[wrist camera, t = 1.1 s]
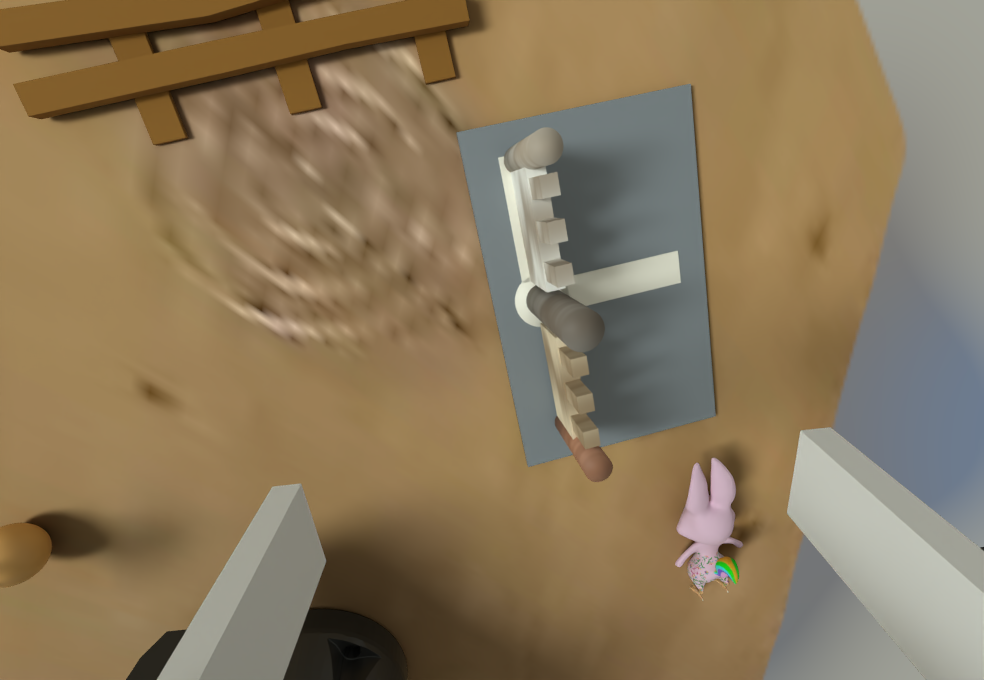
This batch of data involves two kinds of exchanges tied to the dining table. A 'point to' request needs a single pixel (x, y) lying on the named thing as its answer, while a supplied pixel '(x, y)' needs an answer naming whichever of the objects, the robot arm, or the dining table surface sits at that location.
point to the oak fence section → (575, 406)
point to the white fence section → (548, 242)
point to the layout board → (605, 264)
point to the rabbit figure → (709, 527)
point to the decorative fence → (208, 50)
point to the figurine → (22, 552)
